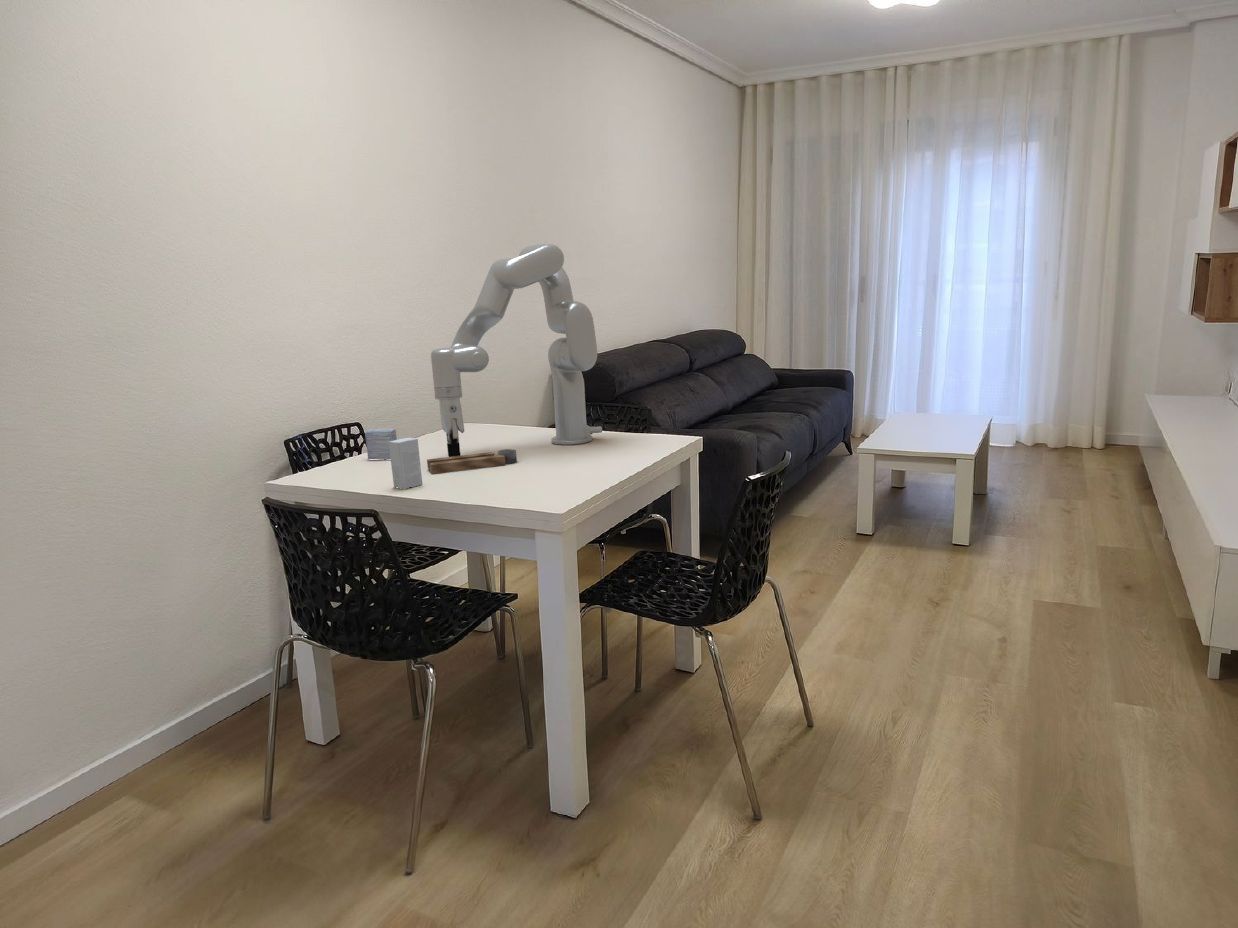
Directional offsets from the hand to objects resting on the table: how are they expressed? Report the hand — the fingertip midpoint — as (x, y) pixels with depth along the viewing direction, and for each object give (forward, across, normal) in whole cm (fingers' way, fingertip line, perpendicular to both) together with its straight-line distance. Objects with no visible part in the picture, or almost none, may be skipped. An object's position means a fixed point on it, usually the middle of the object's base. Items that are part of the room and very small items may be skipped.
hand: (454, 456), depth 250 cm
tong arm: (+1, -9, 0) cm, 9 cm away
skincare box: (+1, -26, +16) cm, 30 cm away
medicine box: (+1, +15, +18) cm, 24 cm away
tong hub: (+1, -11, -3) cm, 12 cm away
